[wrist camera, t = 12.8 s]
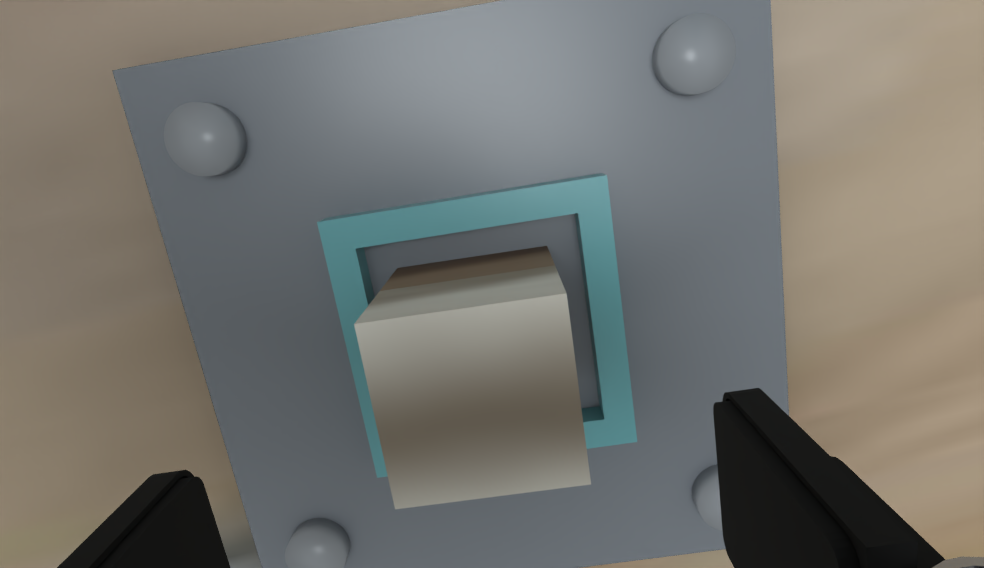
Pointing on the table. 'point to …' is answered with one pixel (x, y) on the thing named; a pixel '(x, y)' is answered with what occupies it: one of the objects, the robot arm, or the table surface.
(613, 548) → the baseplate
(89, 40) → the table surface
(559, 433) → the smooth beige block
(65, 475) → the table surface
